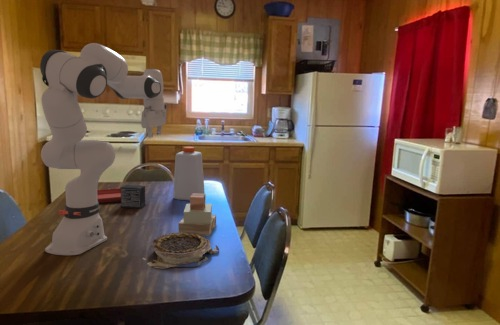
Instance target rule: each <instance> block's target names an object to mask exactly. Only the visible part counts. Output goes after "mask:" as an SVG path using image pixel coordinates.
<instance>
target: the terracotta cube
mask: <svg viewBox="0 0 500 325" xmlns="http://www.w3.org/2000/svg"><path fill="white" fill-rule="evenodd" d="M189 204H190V210H204V208H205V204H206V193H205V194H198V193H193V194H192V195H191V196H190V201H189Z"/></svg>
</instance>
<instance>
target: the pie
mask: <svg viewBox="0 0 500 325" xmlns="http://www.w3.org/2000/svg"><path fill="white" fill-rule="evenodd" d="M150 247H151V248H152V250H153V251H154V253H155V254H152V257H153V258H154V259H153V261H149V262H147V265H148V266H150V267H154V268H157V269H162V268H164V269H168V268H169V269H170V268H171V267H172V268H175V267H178V265H184V264H190V263H197V262H198V266H199V265H201V264H202V263H204V262H206V261H208V257H207V256H203V255H205V253H206V254H209V255H211V254H216V253H217V254H218V252H219V251H220V250H219V249H220V248H219V246H218V245H216V244H215V248H212V247H211V241H210V239H208V238H206V237H205V236H203V235H198V234H197V233H195V232H183V233H180V232H179V231H178V232H170V233H165V234H162V235H160V236H157V237H156V238H155V239H153V240H152V242H150ZM155 258H157V259H155ZM141 259H142V260H144V261H146V260H147V258H145V257H142V258H141ZM153 262H154V263H153ZM194 267H197V265H196V266H194Z"/></svg>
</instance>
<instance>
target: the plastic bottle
mask: <svg viewBox="0 0 500 325" xmlns="http://www.w3.org/2000/svg"><path fill="white" fill-rule="evenodd" d="M182 149H183V150H182V151H180V152H177V153H176V154H175V159H174V160H175V161H174V175H173V176H174V177H173V178H174V179H173V188H172V189H173V192H172V194H173V195H172V197H173V198H174V199H175V200H178V201H179V200H181V201H188V202H190V196H191V195H192V194H193V193H198V194H205V195H206V193H205V179H204V166H203V154H202V152H200V151H195V147H194V146H184V147H183V148H182Z"/></svg>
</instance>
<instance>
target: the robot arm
mask: <svg viewBox="0 0 500 325" xmlns="http://www.w3.org/2000/svg"><path fill="white" fill-rule="evenodd" d="M39 66H40V67H39V68H40V74H41V75H42V76H41V77H42V78H41V80H42V82H43V83H44V85H46V86H47V87H48V88H47V89H45V90H44V91H43V92H42V94H41V106H42V110H43V113H44V117H45V120H46V122H47V124H48V127H49V129H50V132H51V135H52V136H51V139H50V140H49V141H47V142H46V143H44V145H43V146H42V148H41V152H40V158H41V160H42V162H43V164H44V165H45V166H46V167H48V168H52V169H57V170H80V175H79V176H77V177H74V178H72V179H71V180H69V181H68V182H67V183H66V185H65V187H64V190H65V191H64V192H65V206H64V209H59V210H58V215H59V216H63V217H62V219H61V221H60V222H59V224H58V225H57V227H56V228H55V230H53V233H52V238H51V241H52V242H51V243H50V244H49V245H48V246H46V247H45V248H44V251H45V252H46V253H47V254H51V255H56V256H77V255H82V254H83V253H85V252H87V251H88V250H91V249H92V248H94V247H97V246H99V245H101V244H102V243H104V242H106V241H107V240H108V236H106V235H105V231H104V230H105V229H104V223H103V219H102V217H101V216H100V213H99V212H100V203H99V202H98V199H97V190H98V186H99V185H98V184H99V181H100V178H101V176H102V175H103V173H104V172H105V171H106V170H107V169H109V168H110V167H111V166H113V165H112V164H114V162H115V160H116V150H115V148H114V146H113V145H112V144H111V143H110V142H108V141H103V140H97V139H96V140H94V139H84V138H85V137H86V135H87V131H88V128H87V127H88V126H87V124H86V121H85V118H84V115H83V112H82V109H81V106H80V104H79V100H78V98H79V97H78V96H80V97H82V98H86V99H91V100H93V99H97V98H99V97H100V96H102V94H103V93H104V92H105V91H106V88H107V87H108V88H110V89H111V90H112V91H113V92H114V93H115V95H116V96H117V97H118V98H119V99H122V100H125V99H127V100H129V99H132V100H133V99H134V100H136V99H137V100H138V99H140V100H143V111H141V116H140V117H141V120H140V122H141V125H140V126H141V128H142V129H145V130H146V133H147V138H149V139H151V138H153V137H154V133H153V132H152V130H153V128H156V131H155V135H156V136H161V135H162V129H163V126H164V125H166V124H167V109H168V105H167V103H166V102H165V100H164V99H165V98H164V78H163V74H162V71H160V70H159V69H156V68H146V69H144V70H143V74H142V75H128V72H129V65H128V63H127V60H126V59H125V58H124V57H123V56H122V55H120V54H119V53H118V52H116V51H114V50H113V49H111V48H110V47H107V46H105V45H103V44H100V43H96V42H93V43H92V42H91V43H88V44H86V45H85V46H83V48H82V49H81V50H80V53H79V56H77V55H74V54H71V53H68V52H66V51H64V50H60V49H50V50H48V51H46V52H45V53H44V54H43V55H42V56H41V58H40V65H39Z"/></svg>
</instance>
